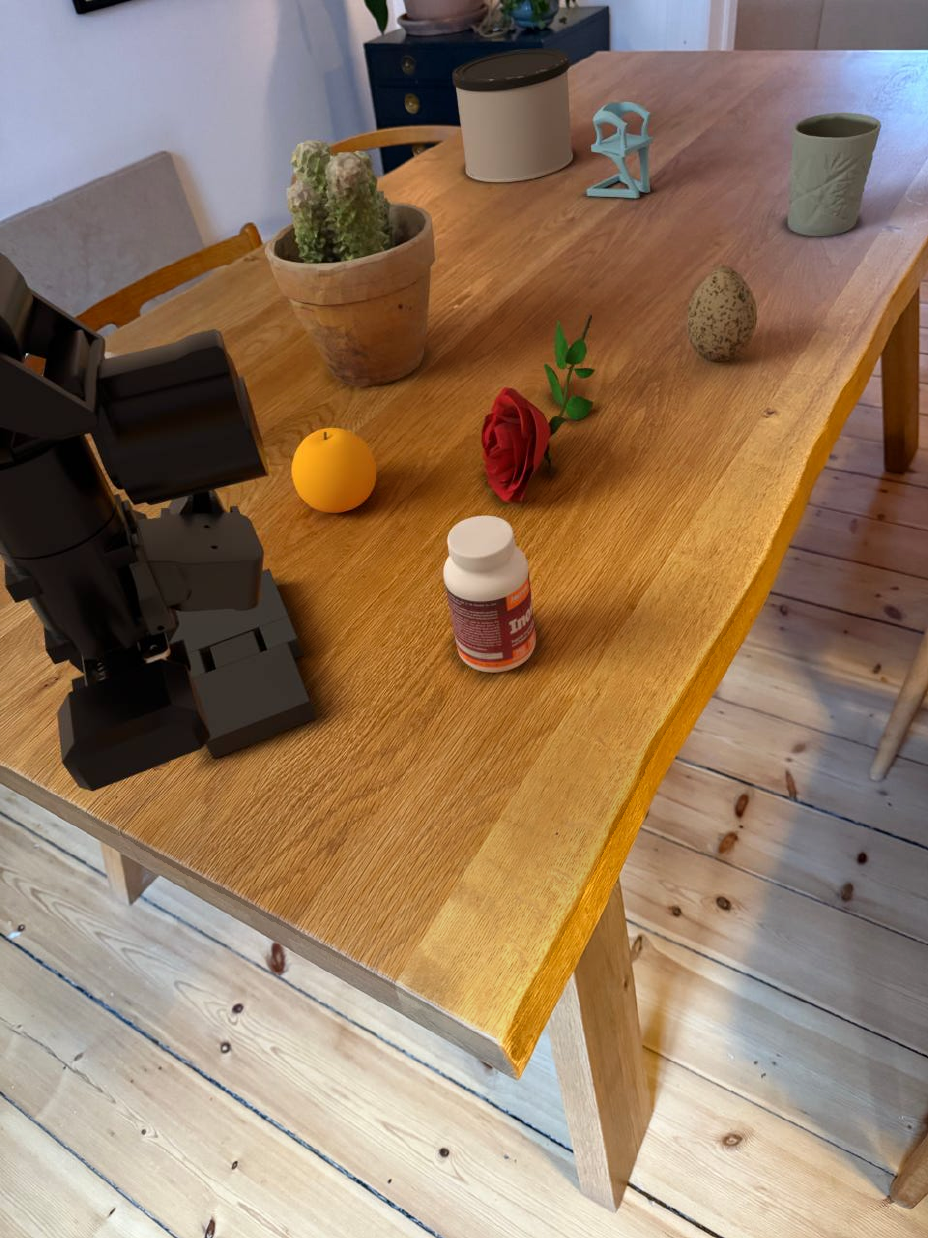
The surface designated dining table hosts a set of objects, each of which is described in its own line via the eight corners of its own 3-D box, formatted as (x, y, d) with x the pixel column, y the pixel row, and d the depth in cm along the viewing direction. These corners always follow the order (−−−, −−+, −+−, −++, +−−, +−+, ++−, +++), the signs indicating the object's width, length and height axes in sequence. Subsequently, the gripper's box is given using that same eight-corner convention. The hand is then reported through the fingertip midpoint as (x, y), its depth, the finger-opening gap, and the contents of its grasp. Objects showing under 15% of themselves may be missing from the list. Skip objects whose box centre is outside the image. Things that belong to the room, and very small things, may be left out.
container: (525, 188, 144) (516, 83, 134) (442, 175, 155) (428, 77, 144) (596, 150, 153) (592, 49, 143) (513, 140, 163) (504, 45, 153)
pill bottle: (530, 678, 67) (516, 566, 59) (450, 673, 68) (426, 563, 61) (542, 620, 71) (530, 509, 63) (466, 617, 72) (446, 508, 65)
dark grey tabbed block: (213, 759, 65) (203, 742, 64) (191, 673, 72) (182, 656, 71) (316, 718, 67) (310, 700, 65) (285, 638, 74) (278, 620, 72)
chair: (627, 204, 133) (626, 115, 125) (585, 195, 138) (582, 109, 130) (660, 186, 136) (661, 99, 128) (618, 178, 141) (617, 94, 133)
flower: (560, 257, 94) (475, 432, 76) (640, 297, 94) (575, 480, 76) (529, 325, 101) (445, 500, 83) (604, 362, 101) (537, 543, 83)
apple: (292, 526, 85) (270, 460, 80) (313, 478, 91) (294, 413, 85) (373, 524, 83) (356, 456, 78) (390, 475, 89) (374, 409, 84)
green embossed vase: (776, 214, 123) (785, 118, 114) (852, 204, 121) (867, 106, 113) (792, 242, 115) (804, 141, 107) (874, 232, 114) (892, 130, 106)
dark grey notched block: (183, 701, 70) (173, 684, 69) (164, 625, 77) (156, 608, 76) (304, 655, 72) (297, 638, 70) (275, 585, 79) (269, 567, 78)
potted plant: (272, 376, 108) (202, 155, 91) (385, 314, 116) (340, 101, 99) (369, 419, 97) (311, 178, 80) (485, 348, 106) (455, 116, 89)
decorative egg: (754, 373, 93) (762, 280, 87) (684, 375, 95) (687, 283, 88) (752, 340, 98) (760, 250, 92) (685, 342, 100) (688, 254, 93)
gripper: (266, 573, 37) (347, 795, 47) (189, 387, 50) (266, 594, 61) (-9, 671, 35) (140, 882, 45) (-14, 449, 48) (103, 653, 58)
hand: (171, 733), depth 52 cm, fingers closed
